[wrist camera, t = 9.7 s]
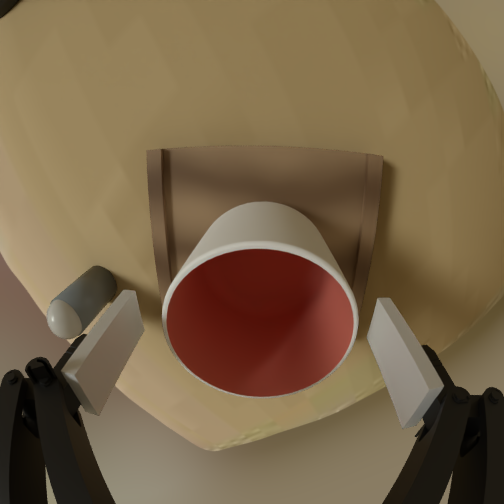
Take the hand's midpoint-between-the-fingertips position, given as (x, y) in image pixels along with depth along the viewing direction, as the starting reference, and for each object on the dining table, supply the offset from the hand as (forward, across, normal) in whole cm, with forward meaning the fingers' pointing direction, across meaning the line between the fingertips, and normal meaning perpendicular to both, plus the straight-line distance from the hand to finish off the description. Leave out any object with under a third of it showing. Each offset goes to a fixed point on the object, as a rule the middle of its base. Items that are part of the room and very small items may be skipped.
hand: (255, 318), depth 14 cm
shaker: (+10, -17, -5) cm, 20 cm away
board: (+10, 0, -1) cm, 10 cm away
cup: (+9, 0, 0) cm, 9 cm away
